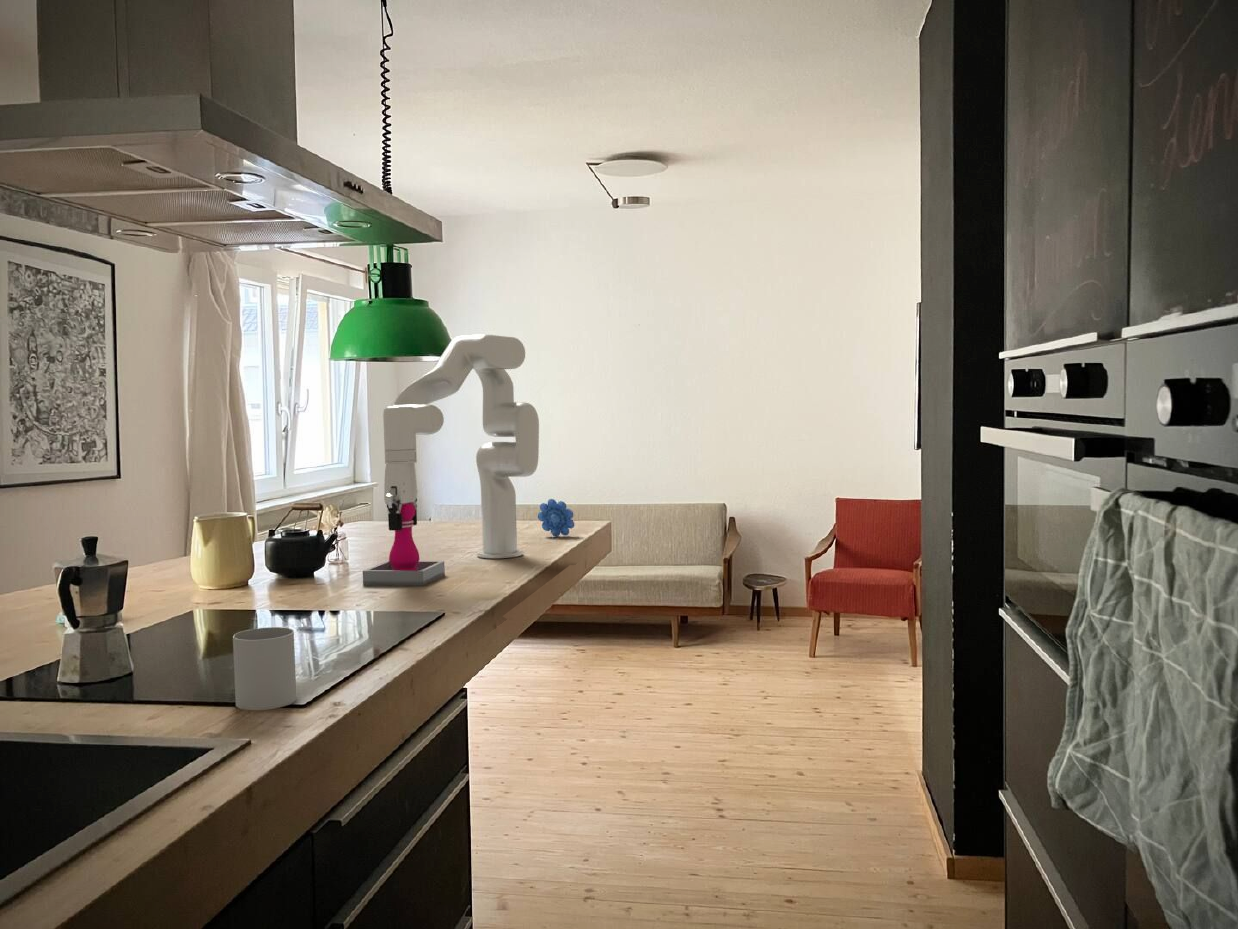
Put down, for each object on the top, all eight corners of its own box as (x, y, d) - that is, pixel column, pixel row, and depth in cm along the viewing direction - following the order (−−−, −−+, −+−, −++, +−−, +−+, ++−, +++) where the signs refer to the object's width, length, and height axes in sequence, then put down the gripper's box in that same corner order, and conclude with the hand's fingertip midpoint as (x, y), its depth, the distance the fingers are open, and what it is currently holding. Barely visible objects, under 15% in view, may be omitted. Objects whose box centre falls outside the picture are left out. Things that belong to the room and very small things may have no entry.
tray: (387, 574, 259) (387, 560, 259) (444, 575, 257) (444, 561, 257) (363, 585, 245) (362, 570, 244) (423, 586, 242) (423, 571, 242)
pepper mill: (423, 573, 254) (421, 492, 252) (415, 578, 246) (412, 495, 245) (395, 573, 254) (392, 492, 253) (385, 579, 247) (382, 495, 246)
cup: (291, 690, 155) (288, 624, 155) (302, 704, 148) (299, 635, 148) (231, 699, 151) (228, 631, 151) (240, 713, 144) (237, 643, 144)
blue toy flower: (536, 538, 322) (535, 500, 321) (539, 535, 328) (538, 498, 328) (573, 538, 321) (572, 499, 320) (575, 535, 328) (574, 497, 327)
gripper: (399, 455, 258) (401, 523, 259) (371, 459, 241) (374, 532, 242) (428, 454, 257) (430, 523, 258) (402, 459, 240) (404, 532, 241)
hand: (403, 527), depth 250 cm, fingers open, 9 cm apart
